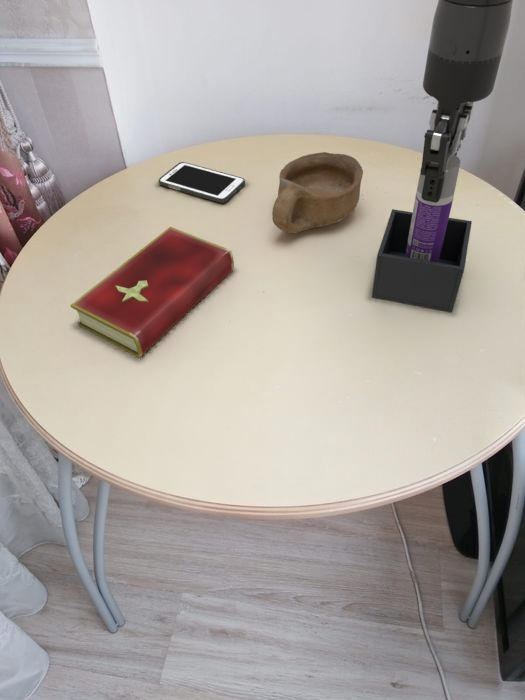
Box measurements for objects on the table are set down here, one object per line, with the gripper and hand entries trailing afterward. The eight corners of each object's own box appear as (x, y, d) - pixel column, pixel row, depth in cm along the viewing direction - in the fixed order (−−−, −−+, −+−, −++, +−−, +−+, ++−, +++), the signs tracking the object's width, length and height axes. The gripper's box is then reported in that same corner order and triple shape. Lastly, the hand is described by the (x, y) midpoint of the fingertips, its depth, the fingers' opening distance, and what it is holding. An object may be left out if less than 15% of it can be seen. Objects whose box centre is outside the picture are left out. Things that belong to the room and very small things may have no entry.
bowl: (344, 254, 85) (330, 195, 79) (264, 255, 92) (245, 201, 86) (378, 193, 96) (368, 137, 89) (304, 198, 103) (289, 146, 96)
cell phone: (224, 204, 98) (223, 200, 97) (157, 185, 103) (156, 180, 102) (247, 183, 102) (246, 178, 102) (181, 165, 108) (180, 160, 107)
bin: (460, 263, 85) (471, 220, 79) (452, 312, 78) (464, 269, 72) (386, 251, 88) (392, 209, 82) (371, 297, 80) (377, 254, 75)
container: (445, 262, 79) (470, 163, 68) (419, 273, 77) (439, 174, 66) (424, 245, 82) (443, 147, 71) (398, 255, 80) (414, 157, 69)
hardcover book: (234, 271, 86) (232, 249, 83) (141, 359, 74) (135, 337, 71) (174, 247, 90) (170, 225, 87) (78, 325, 79) (69, 303, 76)
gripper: (488, 75, 53) (451, 226, 66) (516, 26, 62) (479, 168, 74) (410, 64, 56) (389, 211, 68) (447, 19, 64) (423, 157, 77)
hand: (436, 188), depth 71 cm, fingers open, 5 cm apart
